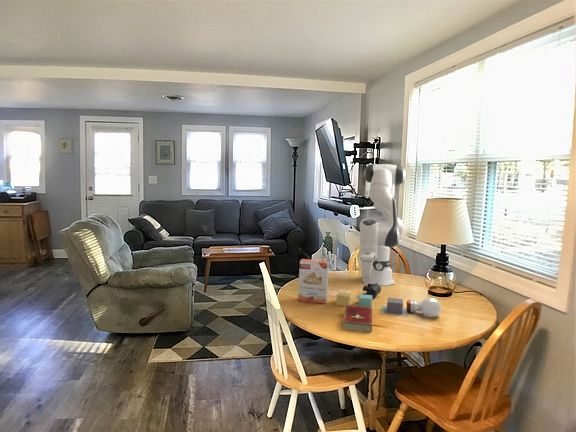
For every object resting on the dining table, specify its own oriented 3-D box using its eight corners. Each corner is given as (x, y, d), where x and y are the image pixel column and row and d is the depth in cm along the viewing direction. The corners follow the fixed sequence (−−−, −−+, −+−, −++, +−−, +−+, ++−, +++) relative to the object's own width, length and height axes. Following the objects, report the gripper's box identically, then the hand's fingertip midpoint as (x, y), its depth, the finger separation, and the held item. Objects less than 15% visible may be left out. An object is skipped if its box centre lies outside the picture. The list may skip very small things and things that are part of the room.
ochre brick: (337, 301, 208) (338, 291, 207) (349, 302, 206) (350, 293, 206) (335, 305, 202) (336, 295, 202) (348, 306, 201) (348, 296, 200)
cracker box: (297, 301, 205) (299, 261, 202) (300, 298, 211) (301, 258, 208) (325, 304, 202) (327, 263, 199) (327, 300, 208) (328, 260, 205)
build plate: (382, 307, 200) (382, 305, 200) (407, 310, 197) (407, 308, 197) (380, 315, 189) (380, 313, 189) (407, 318, 186) (408, 316, 186)
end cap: (375, 301, 209) (376, 288, 208) (362, 299, 213) (362, 286, 212) (380, 296, 218) (381, 283, 217) (367, 293, 221) (368, 281, 221)
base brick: (387, 307, 197) (387, 297, 197) (402, 309, 195) (402, 299, 195) (386, 312, 190) (387, 302, 190) (402, 314, 189) (402, 303, 188)
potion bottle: (441, 323, 185) (408, 320, 192) (444, 306, 191) (411, 304, 199) (438, 311, 180) (404, 308, 187) (441, 293, 186) (408, 291, 194)
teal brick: (359, 303, 205) (360, 294, 205) (371, 305, 204) (372, 295, 203) (358, 307, 199) (358, 297, 199) (370, 309, 198) (371, 299, 197)
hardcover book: (371, 315, 190) (372, 306, 189) (371, 333, 169) (372, 323, 169) (345, 313, 192) (346, 304, 192) (342, 330, 172) (342, 320, 171)
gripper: (363, 249, 209) (362, 276, 210) (359, 257, 189) (358, 286, 191) (375, 250, 207) (374, 277, 209) (373, 258, 188) (372, 288, 189)
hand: (366, 282), depth 200 cm, fingers open, 8 cm apart
